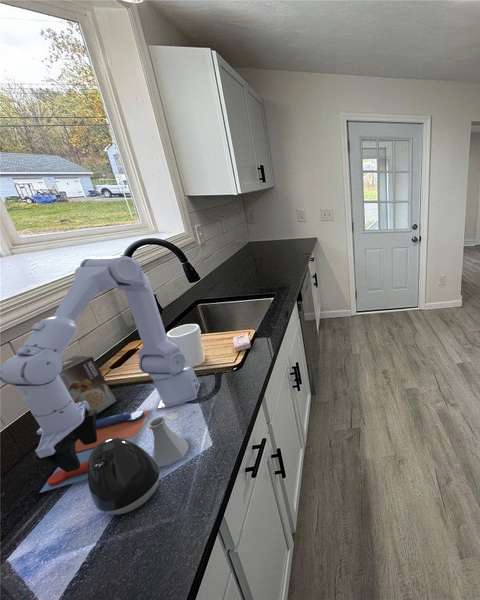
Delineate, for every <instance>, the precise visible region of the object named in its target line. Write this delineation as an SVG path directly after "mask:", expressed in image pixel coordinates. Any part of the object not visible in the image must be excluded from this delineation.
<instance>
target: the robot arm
mask: <svg viewBox="0 0 480 600" xmlns="http://www.w3.org/2000/svg"><path fill="white" fill-rule="evenodd" d="M113 288H116V289H118V290H121V291H123V292H124V294H125V297H126V299H127V303H128V306H129V309H130V312H131V314H132V317H133V321H134V324H135V326H136V329H137V332H138V335H139V338H140V340H141V343H142V347H141V348H140V349H139V350H138V351H137V354H138V359H139V360H138V368H139V370H140V371H141V372H142V373H144V374H148V377H150V378H151V380H152V382H153V385H154V386H155V389H156V391H157V394H158V396H159V398H160V402H159V404H158V406H157V410H159V409H164V408H168V407H172V406H176V405H179V404H184V403H187V402H191V401H192V402H193V401H194V400H196V399H197V396H198V394H199V390H200V387H201V383H200V382H199V380H198V377H197V374H196V372H195V369H194V367H185V362H186V359H185V356H184V354H183V353H182V352H181V351H180V349H179V346H178V345H176V344H175V343H173V342H171V341H169V340H168V338H167V336H166V334H167V333H166V329H165V326H164V323H163V320H162V316H161V314H160V310H159V308H158V307H159V306H158V305H157V304H158V303H157V301H156V297H155V295H154V292H153V288H152V285H151V282H150V279H149V278H148V276H147V275H146V274H145V272H144V271H143V268H142V265H141V262H140V261H138V260H137V259H134V258H133V257H130V256H126V255H120V256H99V257H98V256H89V257H86V258H84V259H83V260H82V261H81V262H80V265H79V266H78V267H77V268H76V269H75V270H74V280H73V281H72V283H71V284H70V287H69V288H68V290H67V292H66V293H65V295H64V297H63V298H62V300H61V302H60V304H59V306H58V307H57V308H56V311H55V312H54V313H53V315H52V316H50V317H47V318H42V319H41V320H40V321H39V322H37V323H34V324H33V325H32V327H31V330H33V331H32V332H31V334H30V335H29V336H28V338H27V339H26V340H25V342H24V344H23V345H22V346H21V347H18V348H17V350H16V354H15V355H13V356H11V357H9V358H7V359H6V360H5V361H4V362H3V363H2V365H1V367H0V382H1V383H3V384H6V385H9V386H13V387H14V388H15V389H16V391H17V393H18V394H19V396H20V397H21V399H22V400H23V402H24V404H25V405H26V407H27V408H28V410H29V411H30V413H31V414H32V416H33V418H34V419H35V421H36V422H37V424H38V426H39V428H38V430H36V434H37V435H41V436H40V440H39V443H38V446H37V448H36V449H35V450H34V452H35V454H34V457H35V459H36V460H37V461H43V462H46V463H50V464H52V465H54V466H56V467H59V468H61V469H63V470H64V471H66V472H70V471H74V470H77V469H79V468H80V462H79V459H78V457H77V455H76V453H77V452H76V450H75V444H76V441H77V440H73V441H69V442H65V441H62V440H63V439H64V438H65V437H67V436H68V435H69V434H70V433H71V432H72V433H73V434H74V435H75V436H76V437H77V438H78V439H79V440H80V441H81V442H82V443H83V444H84V445H88V444H92V443H96V442H97V433H96V420H97V418H98V417H97V416H98V414H99V413H98V412H97V410H90V411H87V410H88V409H89V408H90V406H89V404H88V402H87V401H84V402H79V403H76V404H75V403H74V401H73V399H72V397H71V396H70V394H69V392H68V390H67V389H66V387H65V385H64V383H63V382H62V380H61V378H60V376H59V375H58V374H59V373H60V372H61V371H62V362H63V361H62V360H63V356H64V353H65V351H66V350H67V348H68V347H69V345H70V344H71V342H72V340H73V339H74V338H75V336H76V335H77V333H78V331H79V328H78V326H77V324H76V321H77V320H78V319H79V318H80V316H81V315H82V314H83V312H84V311H85V310H86V308H87V307H88V306H89V305H90V303H91V302H92V300H93V299H94V298H95V297H96V296H97V295H98V293H100V292H102V291H105V290H109V289H113ZM97 413H98V414H97Z"/></svg>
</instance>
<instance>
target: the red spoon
mask: <svg viewBox="0 0 480 600" xmlns="http://www.w3.org/2000/svg"><path fill="white" fill-rule="evenodd" d="M87 470H88V461H87V462H84V463H80V468H79V469H77V470H74V471H70V472H66V471H64V470H60V471H58V472H56V473H55V474H53V473H52V474H53V475H51V476H49V477H48V478H47V480H46V483H48V484H49V485H50V486H56V485H58V484H61V483H63V482H64V481H66V480H67V479H68V478H69V477H72V476H75V475H79V474H82V473H85V472H87Z"/></svg>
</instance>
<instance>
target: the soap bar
mask: <svg viewBox="0 0 480 600" xmlns="http://www.w3.org/2000/svg"><path fill="white" fill-rule="evenodd" d="M232 340H233V349H234V352H240V351H244V350H247V349H250V348H251V346H252V345H251V341H250V340H251V339H250V337H249V333H243V334H240V335H237V336H233V338H232Z"/></svg>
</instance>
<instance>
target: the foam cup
mask: <svg viewBox="0 0 480 600" xmlns="http://www.w3.org/2000/svg"><path fill="white" fill-rule="evenodd" d="M201 333H202V330H201V327H200V325H199V324H198V323H187V324H183V325H179V326H177V327H174V328H172V329H170V330H169V331H167V333H166V336H167V339H168V340H169V341H171V342H173V343H175V344H176V345H178V346H179V349H180V351H181V352H182V353H183V354H184V356H185V359H186V362H185V366H184V367H192V368H196V367H198V366H200V365H202V364H203V363H205V361H206V358H205V357H206V356H205V351H204V345H203V340H202V335H201Z"/></svg>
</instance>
